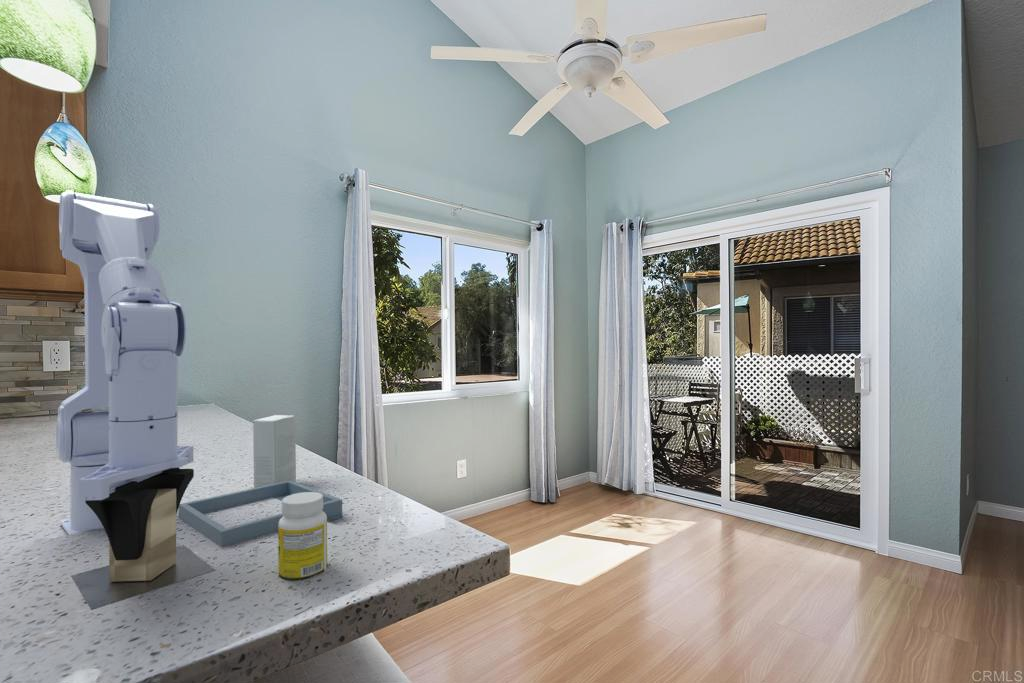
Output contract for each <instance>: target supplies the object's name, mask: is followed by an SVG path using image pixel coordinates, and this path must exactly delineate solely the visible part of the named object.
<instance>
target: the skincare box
mask: <svg viewBox="0 0 1024 683" xmlns="http://www.w3.org/2000/svg"><path fill="white" fill-rule="evenodd" d="M252 422H253V423H252V429H253V430H252V432H253V433H252V434H253V435H252V436H253V443H252V444H253V447H252V448H253V488H257V487H262V486H266V485H271V484H276V483H280V482H285V481H290V480H291V481H294V482H296V481H297V464H296V463H297V460H296V459H297V457H296V456H297V455H296V454H297V453H296V450H297V448H296V444H297V443H296V442H297V441H296V416H295V415H294V414H293V415H292V414H289V415H286V414H283V415H282V414H274V415H270V416H267V417H262V418H258V419H254V420H253V421H252ZM296 483H297V482H296Z"/></svg>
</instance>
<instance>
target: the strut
mask: <svg viewBox="0 0 1024 683" xmlns="http://www.w3.org/2000/svg"><path fill="white" fill-rule="evenodd" d="M108 543H109V544H108V546H109V548H108V551H109V552H108V553H109V554H108V556H109V557H108V558H109V559H108V562H109V563H108V566H109V582H117V581H149V580H152V579H154V578H155V577H157V576H158V575H159V574H161V573H162V572H164V571H165V570H167V569H168V568H169V567H171V566H172V565H174V564H175V563H176V547H177V515H176V489H158V492H157V494H156V496H155V498H154V501H153V503H152V506H151V509H150V512H149V515H148V520H147V525H146V535H145V544H144V549H143V552H142V556H141V557H140V558H138V559H136V560H116V559H115V557H114V554H113V551H112V548H111V545H110V542H109V541H108Z"/></svg>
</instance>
